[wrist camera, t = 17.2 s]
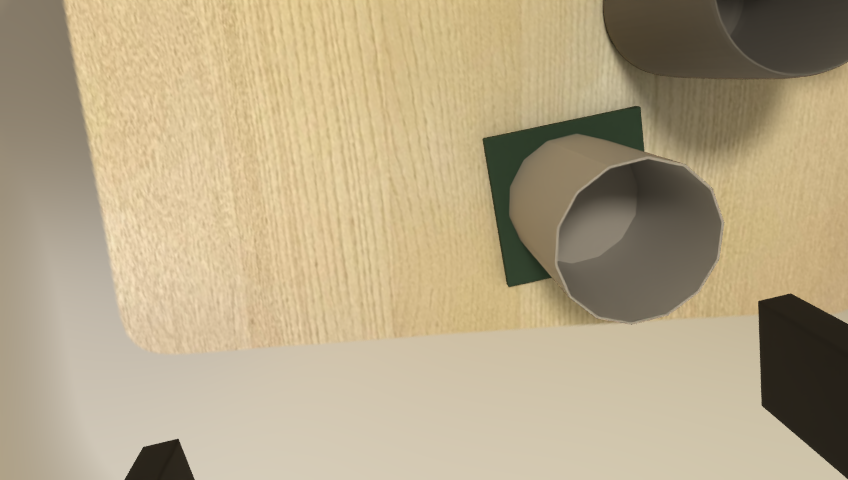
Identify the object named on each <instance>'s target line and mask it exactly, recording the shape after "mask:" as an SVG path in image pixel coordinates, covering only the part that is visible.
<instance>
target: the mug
mask: <svg viewBox="0 0 848 480" xmlns="http://www.w3.org/2000/svg"><path fill="white" fill-rule="evenodd" d="M603 9H604V18H605V24H606V27H607V31H608V33H609V36H610V38H611V40H612V42H613V44H614V45H615V47H616V48H617V50H618V51H619V52H620V54H621V55H622V56H623V57H624V58H625V59H626V60H627V61H629V62H630V63H631V64H633V65H634V66H636V67H637V68H639V69H641V70H644V71H646V72H649V73H653V74H657V75H662V76H670V77H683V78H709V79H785V78H798V77H806V76H811V75H816V74H820V73H823V72H826V71H829V70H831V69H834V68H836V67H839V66H841V65H843V64H845V63H847V62H848V0H603Z"/></svg>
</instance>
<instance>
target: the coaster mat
mask: <svg viewBox="0 0 848 480" xmlns="http://www.w3.org/2000/svg"><path fill="white" fill-rule="evenodd" d="M573 134H581V135H585V136H590V137H594V138H599V139H603V140H607V141H610V142H614V143H617V144H620V145H623V146H627V147H630V148H633V149H637V150H640V151H643V152H644V143H643V131H642V120H641V108H640V107H639V106H634V107H630V108H625V109H620V110H615V111H611V112H606V113H601V114H596V115H592V116H587V117H582V118H578V119H573V120H568V121H563V122H559V123H554V124H549V125H544V126H540V127H535V128H530V129H525V130H521V131H516V132H511V133H506V134H502V135H497V136H492V137H487V138H483V145H484V150H485V156H486V162H487V168H488V174H489V180H490V186H491V192H492V198H493V204H494V210H495V216H496V222H497V228H498V234H499V240H500V246H501V252H502V258H503V264H504V270H505V276H506V282H507V285H508V286H509V287H511V286H515V285H520V284H524V283H529V282H534V281H538V280H543V279H548V278H552V277H551V276H550V275H549V273H548V272H547V271H546V270H545V269H544V267H543V266H542V265H541V264H540V263H539V262H538V260H537V259H536V258H535V257H534V256H533V255H532V253H531V252H530V251H529V250H528V249H527V248H526V246H525V245H524V244H523V243H522V242H521V241H520V238H519V236H518V234H517V232H516V230H515V228H514V225H513V223H512V221H511V219H510V217H509V201H510V186H511V184H512V182H513V180H514V178H515V176H516V174H517V172H518V170H519V168H520V166H521V164H522V162H523V160H524V159H526V158H527V157H528V156H529V155H531V154H532V153H533V152H534V151H536V150H537V149H538V148H539V147H540V146H542V145H543V144H544V143H545V142H547V141H549V140H553V139H557V138H561V137H565V136H569V135H573Z"/></svg>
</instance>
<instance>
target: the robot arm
mask: <svg viewBox="0 0 848 480" xmlns="http://www.w3.org/2000/svg"><path fill="white" fill-rule="evenodd" d="M758 307H759V337H760V367H761V395H762V396H761V397H762V406H763V407H764V408H765V409H766V410H768V411H769V412H770V413H771V414H772V415H773V416H775V417H776V418H777V419H778V420H779V421H781V422H782V423H783V424H784V425H785V426H786V427H787V428H789V429H790V430H791V431H792V432H793V433H795V434H796V435H797V436H798V437H799V438H800V439H802V440H803V441H804V442H805V443H806V444H808V445H809V446H810V447H811V448H812V449H813V450H814V451H816V452H817V453H818V454H819V455H820V456H821V457H823V458H824V459H825V460H826V461H827V462H828V463H830V464H831V465H832V466H833V467H834V468H835V469H837V470H838V471H839V472H840V473H841V474H842V475H844V476H845V477H846V478H847V479H848V324H847V323H845V322H843V321H841V320H839V319H837V318H836V317H834V316H832V315H830V314H828V313H826V312H824V311H823V310H821V309H819V308H817V307H815V306H813V305H811V304H810V303H808V302H806V301H804V300H802V299H800V298H798V297H796V296H795V295H793V294H787V295H783V296H778V297H774V298H770V299H766V300H762V301H758ZM125 480H195V479H194V477H193V474H192V472H191V470H190V467H189V465H188V462H187V459H186V457H185V454H184V452H183V449H182V447H181V444H180V442H179V439H175V440H172V441H167V442H163V443H159V444H154V445H150V446H146V447H143V448H142V450H141V452H140V454H139V455H138V457H137V459H136V461H135V462H134V464H133V466H132V468H131V469H130V471H129V473H128V475H127V476H126V478H125Z"/></svg>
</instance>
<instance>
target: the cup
mask: <svg viewBox="0 0 848 480" xmlns="http://www.w3.org/2000/svg"><path fill="white" fill-rule="evenodd" d="M509 217H510V219H511V221H512V223H513V225H514V228H515V230H516V232H517V234H518V236H519V238H520V241H521V242H522V243H523V244H524V245H525V246H526V248H527V249H528V250H529V251H530V252H531V253H532V255H533V256H534V257H535V258H536V259H537V260H538V262H539V263H540V264H541V265H542V266H543V267H544V269H545V270H546V271H547V272H548V273H549V275H550V276H551V277H552V278H553V279H554V280H555V282H556V283H557V284H558V285H559V286H560V287H561V289H562V290H563V291H564V292H565V293H566V294H567V296H568V297H569V298H570V299H572V300H573V301H574V302H576V303H577V304H578V305H580V306H581V307H582V308H584V309H585V310H586V311H588V312H589V313H590V314H592V315H593V316H594V317H595V318H597V319H603V320H608V321H614V322H620V323H625V324H631V325H632V324H636V323H640V322H644V321H648V320H652V319H656V318H660V317H664V316H668V315H669V314H671V313H672V312H673V311H675V310H676V309H677V308H679V307H680V306H681V305H683V304H684V303H685V302H687V301H688V300H689V299H691V298H692V297H693V296H695V295H696V294H698V293H699V292H700V290H701V288H702V287H703V285H704V283H705V282H706V280H707V279H708V277H709V275H710V274H711V272H712V270H713V269H714V267H715V266H716V264H717V262H718V261H719V257H720V250H721V243H722V235H723V228H724V220H723V217H722V214H721V211H720V208H719V206H718V203H717V200H716V197H715V194H714V191H713V188H712V187H711V186H709V185H708V184H707V183H706V182H705V181H704V180H703V179H702V178H700V177H699V176H698V175H697V174H696V173H695V172H694V171H692V170H691V169H690V168H689V167H688V166H687V165H686V164H683V163H680V162H676V161H673V160H670V159H666V158H663V157H660V156H656V155H653V154H650V153H647V152H643V151H640V150H637V149H633V148H630V147H627V146H623V145H620V144H617V143H614V142H610V141H607V140H603V139H599V138H594V137H590V136H585V135H581V134H573V135H569V136H565V137H561V138H557V139H553V140H549V141H547V142H545V143H544V144H543V145H542V146H540V147H539V148H538V149H537V150H536V151H534V152H533V153H532V154H531V155H529V156H528V157H527V158H526V159H524V160H523V162H522V164H521V166H520V168H519V170H518V172H517V174H516V176H515V178H514V180H513V182H512V184H511V186H510V201H509Z"/></svg>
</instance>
